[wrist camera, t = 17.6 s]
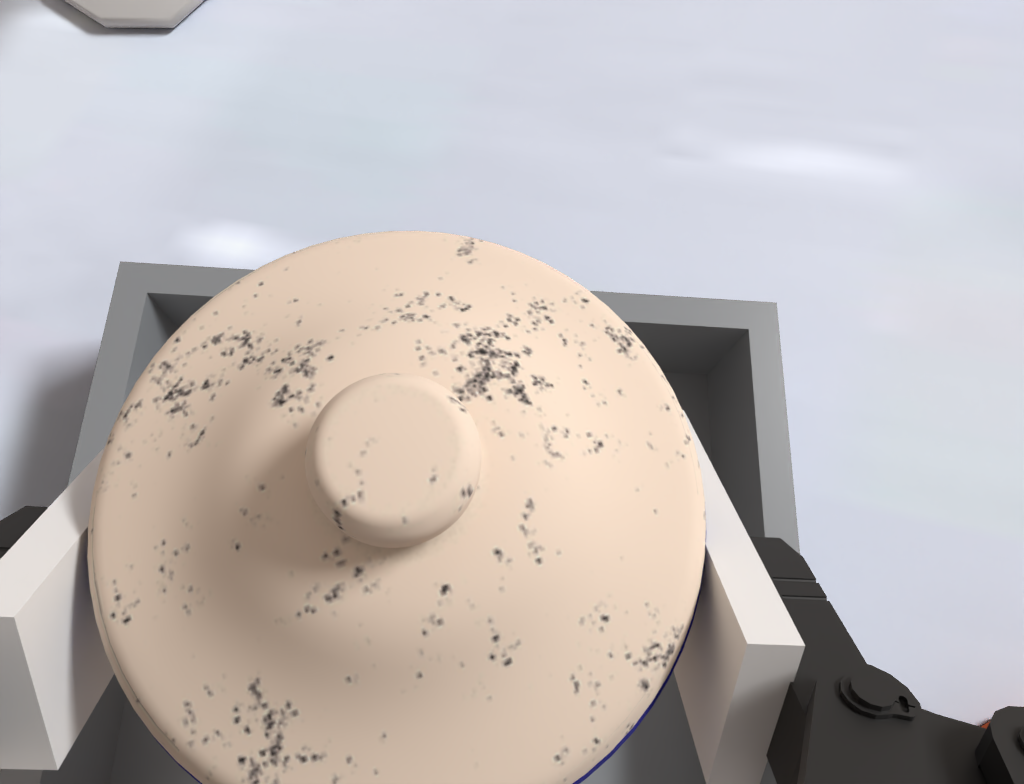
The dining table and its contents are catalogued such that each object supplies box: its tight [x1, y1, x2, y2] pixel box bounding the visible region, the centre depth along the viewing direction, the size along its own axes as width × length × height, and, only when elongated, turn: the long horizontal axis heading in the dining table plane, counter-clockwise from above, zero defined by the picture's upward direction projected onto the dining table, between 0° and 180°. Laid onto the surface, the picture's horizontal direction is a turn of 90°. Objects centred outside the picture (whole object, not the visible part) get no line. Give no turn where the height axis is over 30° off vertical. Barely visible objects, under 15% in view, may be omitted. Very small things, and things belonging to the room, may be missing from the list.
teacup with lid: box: [87, 231, 706, 784], centre depth 13 cm, size 12×9×12 cm
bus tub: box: [0, 262, 800, 784], centre depth 27 cm, size 25×25×6 cm
